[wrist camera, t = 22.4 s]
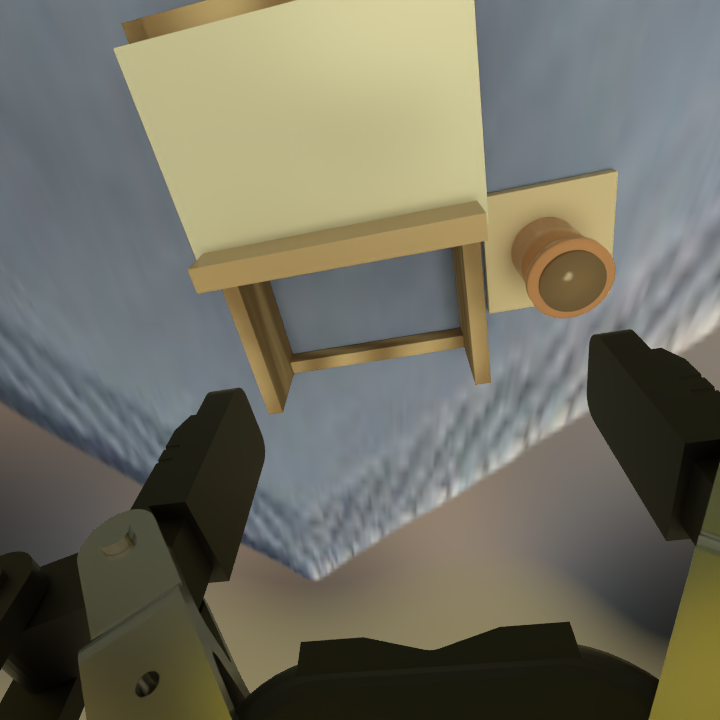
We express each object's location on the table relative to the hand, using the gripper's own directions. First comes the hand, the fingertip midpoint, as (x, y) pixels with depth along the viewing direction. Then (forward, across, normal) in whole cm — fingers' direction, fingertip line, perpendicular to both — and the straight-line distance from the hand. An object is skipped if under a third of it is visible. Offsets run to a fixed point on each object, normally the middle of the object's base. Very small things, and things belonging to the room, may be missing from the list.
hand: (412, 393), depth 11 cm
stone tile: (+30, -12, +8) cm, 33 cm away
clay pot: (+29, -11, +8) cm, 32 cm away
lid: (+22, +4, -4) cm, 23 cm away
